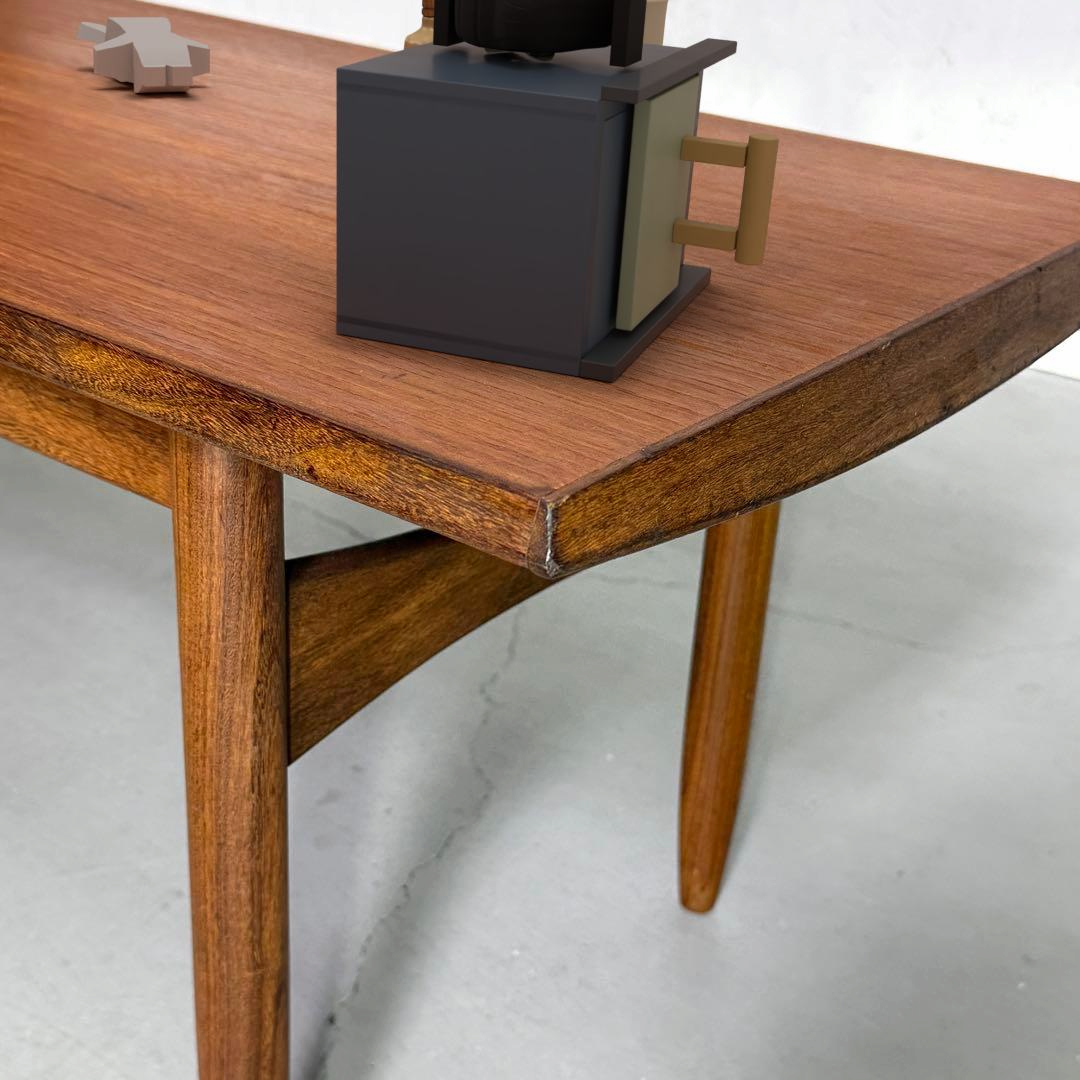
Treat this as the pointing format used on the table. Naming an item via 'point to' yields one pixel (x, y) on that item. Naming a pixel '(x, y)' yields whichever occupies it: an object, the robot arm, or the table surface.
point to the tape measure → (535, 25)
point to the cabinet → (498, 202)
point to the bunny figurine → (145, 53)
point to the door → (683, 199)
